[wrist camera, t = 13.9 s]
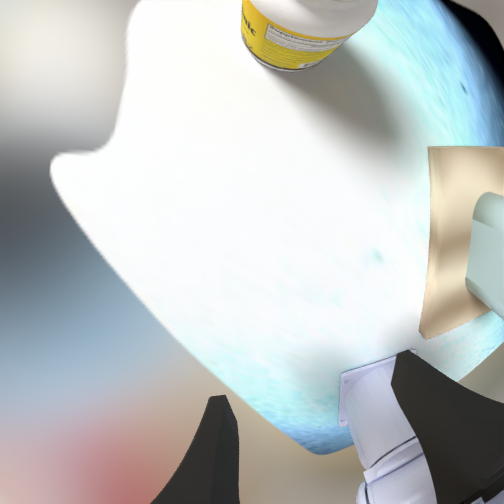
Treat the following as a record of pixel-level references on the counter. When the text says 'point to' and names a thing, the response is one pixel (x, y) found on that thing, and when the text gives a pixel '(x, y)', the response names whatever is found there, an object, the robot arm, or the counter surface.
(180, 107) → the counter surface
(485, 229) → the grey capsule with tab
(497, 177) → the cutting board
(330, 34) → the supplement bottle
